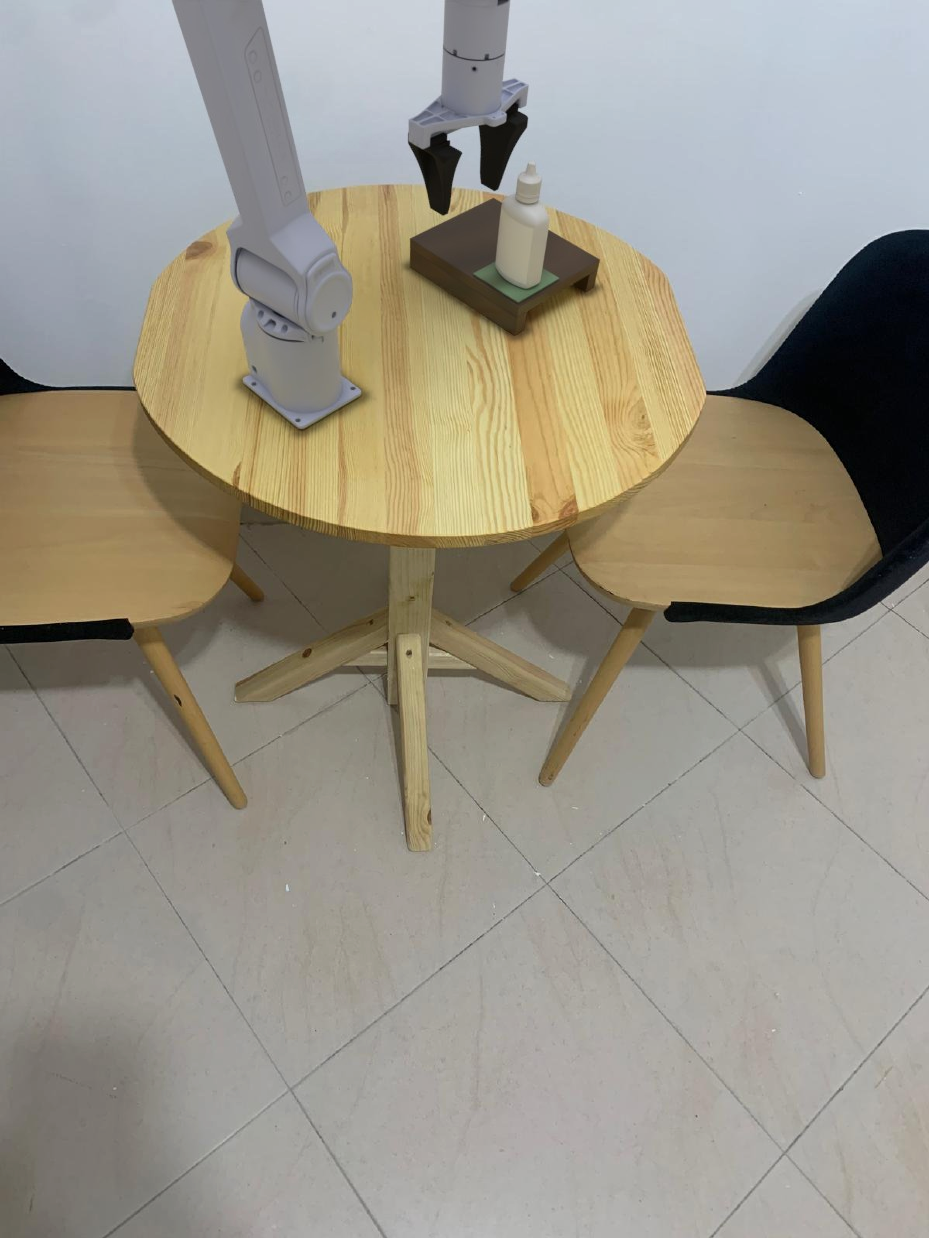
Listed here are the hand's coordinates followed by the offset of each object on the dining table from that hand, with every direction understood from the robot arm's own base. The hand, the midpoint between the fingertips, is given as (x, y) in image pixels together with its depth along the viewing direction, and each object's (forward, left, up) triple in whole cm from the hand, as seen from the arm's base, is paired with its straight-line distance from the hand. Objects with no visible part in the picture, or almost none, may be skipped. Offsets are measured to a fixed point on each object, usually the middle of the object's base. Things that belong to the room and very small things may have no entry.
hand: (464, 198), depth 81 cm
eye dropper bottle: (+6, +2, -7) cm, 10 cm away
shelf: (+2, +5, -10) cm, 12 cm away
